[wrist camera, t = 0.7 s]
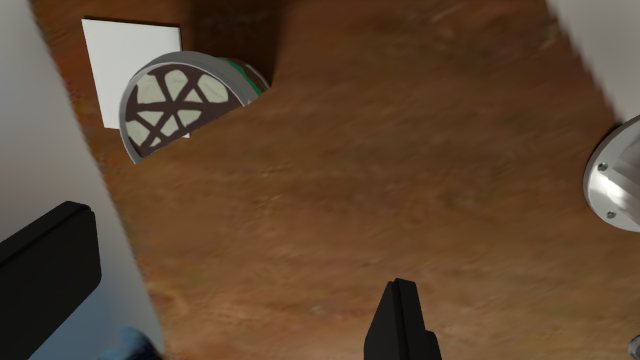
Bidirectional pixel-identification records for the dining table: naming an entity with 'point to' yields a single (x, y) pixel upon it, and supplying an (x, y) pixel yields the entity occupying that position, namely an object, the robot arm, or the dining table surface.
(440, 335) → the dining table surface
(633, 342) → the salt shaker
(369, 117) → the dining table surface
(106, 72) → the mat
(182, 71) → the food container
